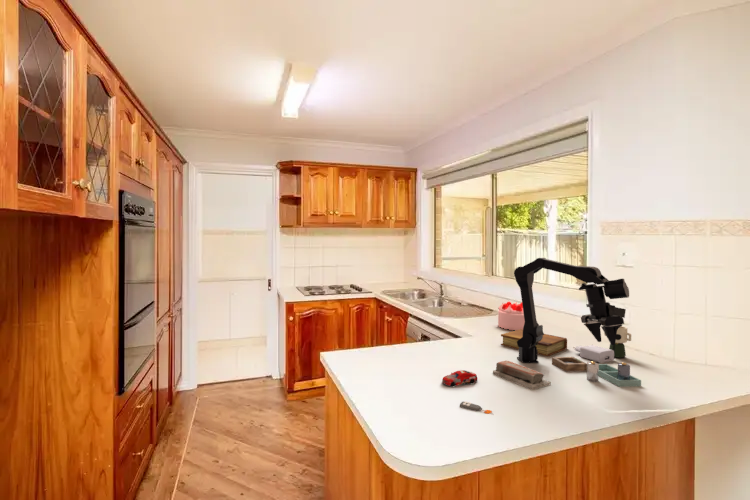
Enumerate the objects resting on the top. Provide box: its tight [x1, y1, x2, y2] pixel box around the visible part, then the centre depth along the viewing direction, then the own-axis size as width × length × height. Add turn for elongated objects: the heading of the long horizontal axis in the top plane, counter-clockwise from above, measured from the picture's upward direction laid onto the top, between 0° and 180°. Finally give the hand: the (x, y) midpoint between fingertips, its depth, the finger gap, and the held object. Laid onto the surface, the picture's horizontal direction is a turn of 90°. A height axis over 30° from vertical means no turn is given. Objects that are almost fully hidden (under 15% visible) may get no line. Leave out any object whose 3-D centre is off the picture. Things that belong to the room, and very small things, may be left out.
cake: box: [497, 301, 525, 331], centre depth 218 cm, size 20×20×14 cm
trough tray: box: [598, 363, 642, 388], centre depth 136 cm, size 8×17×2 cm, turn 5°
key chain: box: [459, 401, 494, 416], centre depth 110 cm, size 13×4×2 cm, turn 56°
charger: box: [572, 344, 615, 364], centre depth 162 cm, size 5×9×15 cm
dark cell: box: [617, 362, 631, 380], centre depth 131 cm, size 4×4×7 cm
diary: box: [500, 329, 568, 357], centre depth 177 cm, size 23×19×6 cm
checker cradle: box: [551, 356, 587, 372], centre depth 147 cm, size 9×9×3 cm
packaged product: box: [492, 360, 552, 391], centre depth 135 cm, size 18×5×10 cm
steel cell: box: [586, 360, 600, 383], centre depth 133 cm, size 4×4×7 cm
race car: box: [441, 369, 478, 388], centre depth 131 cm, size 13×5×4 cm, turn 110°
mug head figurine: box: [603, 325, 632, 358], centre depth 163 cm, size 11×7×13 cm, turn 31°
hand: (606, 343), depth 136 cm, fingers open, 9 cm apart
